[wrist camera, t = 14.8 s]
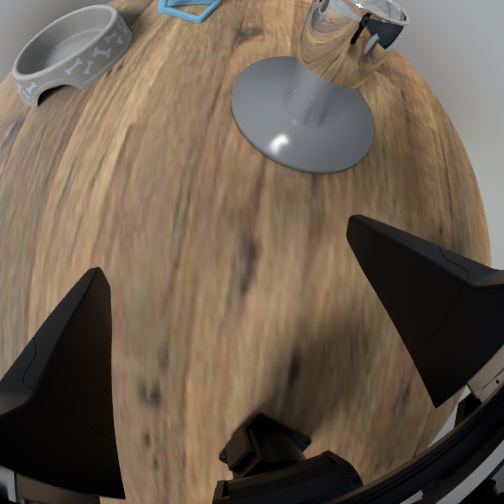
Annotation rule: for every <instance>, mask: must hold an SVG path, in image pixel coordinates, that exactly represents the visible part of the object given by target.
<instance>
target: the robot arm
mask: <svg viewBox="0 0 504 504" xmlns="http://www.w3.org/2000/svg"><path fill="white" fill-rule="evenodd" d="M346 237H347V241H348V243H349V245H350V247H351V249H352V251H353V252H354V254H355V256H356V258H357V260H358V263H359V265H360V267H361V268H362V270H363V272H364V274H365V276H366V277H367V279H368V281H369V282H370V284H371V286H372V287H373V289H374V291H375V292H376V294H377V296H378V297H379V299H380V301H381V302H382V304H383V306H384V308H385V309H386V311H387V313H388V315H389V316H390V318H391V320H392V322H393V324H394V325H395V327H396V329H397V331H398V333H399V335H400V336H401V338H402V340H403V342H404V344H405V346H406V348H407V350H408V352H409V354H410V356H411V358H412V360H413V361H414V364H415V366H416V368H417V370H418V372H419V374H420V376H421V378H422V380H423V382H424V385H425V387H426V389H427V391H428V393H429V396H430V398H431V400H432V402H433V404H434V406H435V408H438V407H439V406H440V405H442V404H443V403H444V402H446V401H447V400H448V399H450V398H451V397H452V396H453V395H455V394H456V393H457V392H458V391H460V390H461V389H462V388H463V387H465V386H466V385H467V386H468V388H469V389H470V391H471V393H470V394H469V395H467V396H466V397H465V398H464V399H463V400H462V401H460V402H459V403H458V408H457V414H456V420H455V425H454V429H453V430H451V431H450V432H449V433H447V434H446V435H445V436H444V437H442V438H441V439H440V440H438V441H437V442H436V443H434V444H433V445H432V446H430V447H429V448H427V449H426V450H425V451H423V452H422V453H420V454H419V455H417V456H416V457H414V458H413V459H411V460H409V461H408V462H406V463H405V464H403V465H401V466H400V467H398V468H396V469H395V470H393V471H391V472H390V473H388V474H386V475H384V476H382V477H380V478H379V479H377V480H375V481H373V482H371V483H369V484H367V485H365V486H363V483H362V481H361V479H360V477H359V475H358V473H357V471H356V470H355V469H354V467H353V466H352V465H351V464H350V463H349V462H348V461H346V460H344V459H343V458H341V457H339V456H337V455H336V454H334V453H333V452H331V451H329V450H327V451H325V452H322V454H320V455H317V456H315V457H312V458H309V459H306V457H305V456H304V454H303V451H304V450H305V449H306V448H307V447H308V446H309V445H310V444H311V442H312V441H311V439H310V438H309V437H308V436H306V435H304V434H302V433H300V432H298V431H296V430H294V429H292V428H290V427H288V426H286V425H284V424H282V423H280V422H278V421H277V420H275V419H273V418H271V417H269V416H267V415H266V414H264V413H258V414H256V415H255V416H254V417H253V419H252V420H251V421H250V422H249V423H248V424H247V425H246V426H245V427H242V428H241V429H240V430H239V431H238V432H237V433H236V434H235V435H234V436H233V437H232V438H231V439H230V441H229V442H228V443H227V444H226V448H225V449H224V450H223V451H222V452H221V453H220V454H219V460H220V461H222V462H224V463H226V464H228V468H229V470H230V471H232V473H233V479H232V480H227V481H225V480H221V481H218V482H217V486H216V488H215V492H214V497H213V501H212V504H400V503H401V502H403V501H405V500H406V499H408V498H409V497H411V496H413V495H414V494H416V493H417V492H418V491H420V490H422V492H423V495H422V499H420V500H418V501H416V502H414V503H412V504H504V492H502V493H501V492H500V490H499V488H498V485H497V483H496V481H495V480H492V479H491V478H492V477H493V476H494V475H495V474H496V473H497V472H498V471H499V470H500V468H501V467H502V466H503V465H504V270H497V269H493V268H490V267H488V266H485V265H483V264H481V263H478V262H476V261H473V260H471V259H468V258H466V257H464V256H461V255H459V254H456V253H454V252H452V251H450V250H447V249H445V248H443V247H440V246H437V245H436V244H434V243H431V242H429V241H427V240H424V239H422V238H419V237H417V236H415V235H412V234H410V233H407V232H405V231H402V230H400V229H397V228H395V227H392V226H390V225H387V224H385V223H382V222H379V221H377V220H374V219H372V218H369V217H366V216H363V215H361V214H358V215H352V216H350V217H349V220H348V227H347V233H346ZM111 350H112V317H111V290H110V286H109V283H108V281H107V279H106V277H105V275H104V273H103V271H102V269H101V268H100V267H95V268H91V269H89V270H88V271H87V272H86V273H85V274H84V275H83V276H82V277H81V278H80V280H79V281H78V282H77V283H76V284H75V285H74V286H73V288H72V289H71V290H70V291H69V292H68V293H67V295H66V296H65V297H64V298H63V299H62V301H61V302H60V303H59V304H58V305H57V307H56V308H55V309H54V310H53V312H52V313H51V314H50V315H49V317H48V318H47V319H46V320H45V322H44V323H43V324H42V326H41V327H40V328H39V330H38V331H37V332H36V334H35V335H34V337H33V338H32V339H31V340H30V342H29V343H28V345H27V346H26V347H25V349H24V350H23V351H22V353H21V354H20V355H19V357H18V358H17V359H16V361H15V362H14V363H13V365H12V366H11V367H10V369H9V370H8V371H7V373H6V374H5V375H4V377H3V378H2V379H1V381H0V504H100V498H99V497H101V498H110V499H121V500H125V499H126V498H125V492H124V488H123V483H122V477H121V472H120V466H119V459H118V452H117V445H116V438H115V428H114V417H113V402H112V376H111ZM259 417H263V419H261V420H259V419H258V418H259ZM306 440H308V441H307V442H305V441H306ZM304 442H305V443H304ZM223 456H225V457H226V458H222V457H223Z"/></svg>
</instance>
